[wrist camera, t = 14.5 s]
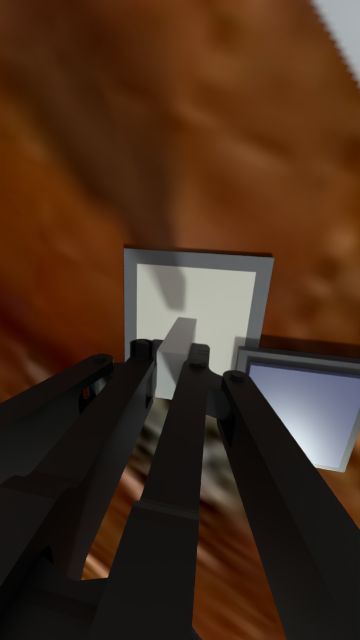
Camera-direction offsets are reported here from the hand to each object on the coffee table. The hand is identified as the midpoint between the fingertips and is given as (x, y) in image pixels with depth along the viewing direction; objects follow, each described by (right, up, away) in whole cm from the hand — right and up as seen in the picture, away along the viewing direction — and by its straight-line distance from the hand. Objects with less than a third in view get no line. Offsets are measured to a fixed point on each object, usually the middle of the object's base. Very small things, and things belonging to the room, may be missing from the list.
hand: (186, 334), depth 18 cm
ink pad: (+10, -7, +3) cm, 13 cm away
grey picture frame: (0, +1, +3) cm, 3 cm away
